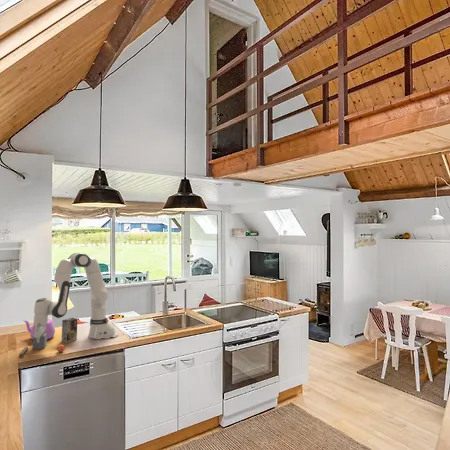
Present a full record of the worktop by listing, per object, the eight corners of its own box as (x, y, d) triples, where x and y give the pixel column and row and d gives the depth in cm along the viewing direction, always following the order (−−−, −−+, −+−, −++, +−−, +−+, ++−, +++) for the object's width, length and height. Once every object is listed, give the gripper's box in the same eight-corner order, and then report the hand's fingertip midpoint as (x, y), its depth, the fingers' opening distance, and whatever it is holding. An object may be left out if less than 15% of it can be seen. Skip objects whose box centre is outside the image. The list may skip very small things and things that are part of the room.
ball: (65, 350, 244) (65, 343, 244) (64, 353, 240) (64, 345, 240) (57, 351, 243) (57, 343, 243) (56, 353, 238) (56, 346, 238)
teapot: (57, 332, 284) (58, 314, 284) (51, 340, 263) (52, 321, 263) (27, 333, 278) (27, 314, 278) (18, 342, 258) (19, 321, 258)
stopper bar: (28, 350, 242) (28, 346, 242) (22, 357, 228) (22, 354, 228) (24, 350, 241) (25, 347, 241) (19, 358, 228) (19, 354, 228)
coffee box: (71, 338, 271) (72, 317, 272) (77, 339, 268) (77, 318, 268) (61, 341, 263) (62, 319, 264) (66, 342, 260) (67, 321, 260)
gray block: (46, 345, 254) (46, 333, 254) (44, 348, 247) (44, 336, 247) (35, 345, 252) (35, 333, 252) (32, 349, 245) (33, 336, 245)
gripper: (42, 325, 240) (41, 345, 240) (48, 317, 260) (47, 336, 260) (32, 325, 238) (31, 345, 238) (38, 317, 258) (38, 336, 258)
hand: (39, 340), depth 249 cm, fingers closed on gray block, 7 cm apart
